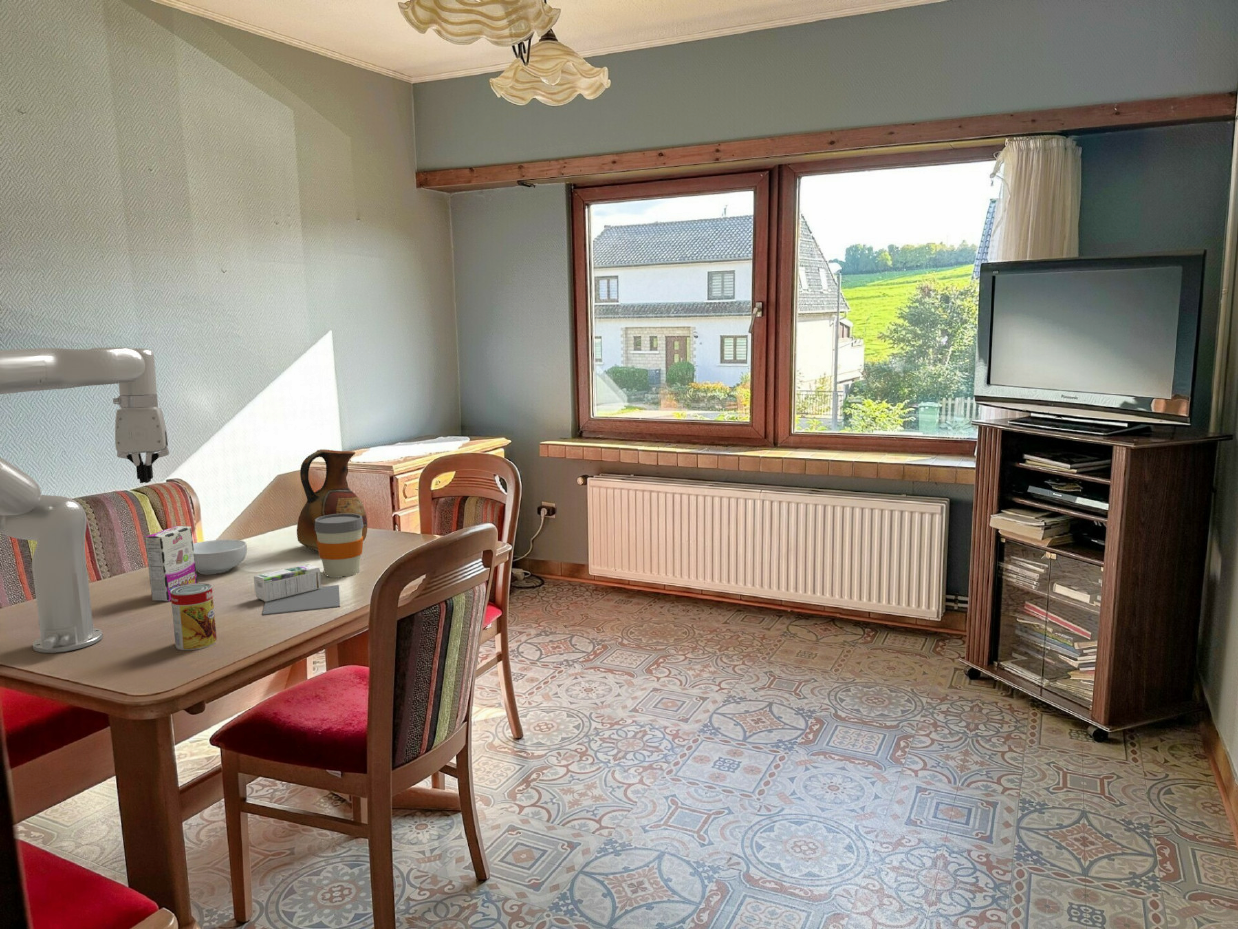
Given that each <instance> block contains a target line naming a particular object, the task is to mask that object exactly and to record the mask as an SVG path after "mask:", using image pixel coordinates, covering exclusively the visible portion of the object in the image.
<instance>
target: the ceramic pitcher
mask: <svg viewBox="0 0 1238 929" xmlns="http://www.w3.org/2000/svg"><path fill="white" fill-rule="evenodd" d="M355 454H356V452H355V451H351V450H349V451H347V450H346V451H345V450H333V449H325V448H324V449H321V448H320V449H317V450H316V451H315V452H313V453H311V454H309V455H308V456H306V458H305V459H304V460H303V461H302V463H301V466H300V472H299V474H300V481H301V485H302V488H303V489H304V493H305V496H306V502H305V504H304V506H303V507H302V508H301V510H300V513H299V515H298V520H297V524H296V536H297V537H296V538H297V541H298V543H299V544H301V546H303V547H304V548H306V549H310V550H314V551H318V547H317V542H316V541H317V534H316V532H315V519H316V518H318V517H321V516H326V515H332V514H346V513H347V514H358V515H361V516H362V520H363V525H364V527H363V528H362V536H363V542H364V541H365V539H366V538H367V534H368V517H367V514H366V513H367V512H366V509H365V506H364V504H363V502H362V501H361V499H360V498H359V497H358V496H357V494H356V493H355V492H353V490H351V489H350V487H349V484H348V480H347V477H348V474H349V462H350V460H351V459H352V457H354V456H355ZM317 458H322V459H323V460H324V464H325V480H324V483H323V485H322V486H321V488H320V489H318V490H316V491H314V490H313V488H312V486H311V484H310V479H309V478H310V477H309V474H310V473H309V471H310V467H311V465H312V462H313V461H314V460H316V459H317Z"/></svg>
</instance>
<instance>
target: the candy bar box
mask: <svg viewBox="0 0 1238 929" xmlns="http://www.w3.org/2000/svg"><path fill="white" fill-rule="evenodd" d="M144 541H145V542H144V543H145V548H146V558H147V566H148V567H147V568H148V575H149V585H150V591H151V592H150V593H151V599H152V601H154V602H171V601H170V600H171V594H170V591H171V590H172V589H173V588H176V587H178V586H182V585H187V584H194V583H198V578H197V577H198V576H197V571H196V566H195V558H194V548H193V543H194V541H193V533H192V526H187V525H181V526H180V525H175V526H172V527H169V528H166V529H163V530H161V531H158V532H155V533H152V534H150V535H146V536H144Z"/></svg>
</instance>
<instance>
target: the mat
mask: <svg viewBox="0 0 1238 929" xmlns="http://www.w3.org/2000/svg"><path fill="white" fill-rule="evenodd" d="M340 607H341V604H340V585H339V584H336V585H333V584H332V585H326V586H325V585H324V586H321V588H320V589H316V590H312V591H308V592H304V593H300V594H296V595H292V596H288V597H284V598H280V599H275V600H271V601H267V602H266V601H264V606H263V610H262V616H269V615H276V614H278V615H279V614H285V613H288V614H289V613H296V612H306V611H312V610H313V611H315V610H322V609H321V608H325V609H333V608H340Z"/></svg>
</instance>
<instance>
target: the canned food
mask: <svg viewBox="0 0 1238 929" xmlns="http://www.w3.org/2000/svg"><path fill="white" fill-rule="evenodd" d="M170 594H171V601H170V602H171V611H172V612H171V613H172V614H171V615H172V624H173V633H174V643H175V644H174V646H175V648H176V649H177V650H181V651H195V650H202V649H205V648H208V646H209V647H211V646H213V645H215V644H216V643H217V641H218V638H217V629H216V626H217V625H216V616H215V605H214V594H213V585H211V584H210V583H204V582H197V583H194V584H187V585H182V586H178V587H176V588H173V589H172V590H171V591H170ZM201 648H202V649H201Z"/></svg>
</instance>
